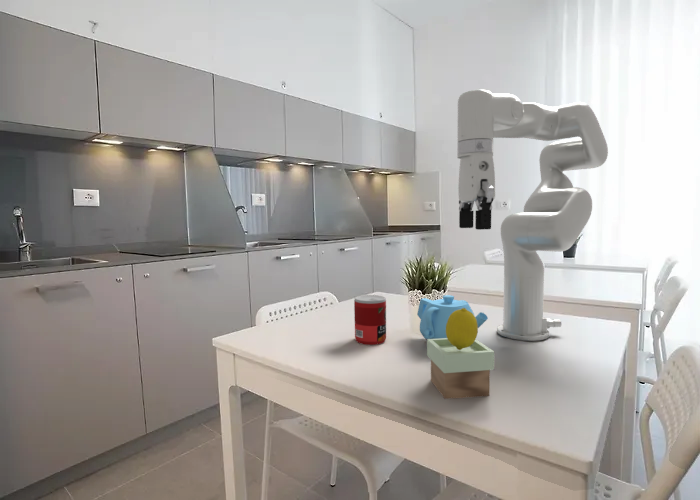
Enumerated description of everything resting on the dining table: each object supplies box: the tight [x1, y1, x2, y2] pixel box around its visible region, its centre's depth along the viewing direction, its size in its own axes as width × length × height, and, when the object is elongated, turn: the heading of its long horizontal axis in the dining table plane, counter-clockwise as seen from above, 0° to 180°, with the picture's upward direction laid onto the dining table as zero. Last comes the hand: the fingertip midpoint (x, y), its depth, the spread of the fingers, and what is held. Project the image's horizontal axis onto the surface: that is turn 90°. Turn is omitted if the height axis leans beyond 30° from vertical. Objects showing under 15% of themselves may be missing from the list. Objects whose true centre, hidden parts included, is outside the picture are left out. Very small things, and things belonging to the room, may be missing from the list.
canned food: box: [353, 294, 387, 346], centre depth 104 cm, size 8×8×11 cm
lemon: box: [446, 308, 479, 350], centre depth 74 cm, size 6×6×8 cm
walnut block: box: [430, 359, 491, 400], centre depth 75 cm, size 8×8×5 cm
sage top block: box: [426, 338, 495, 373], centre depth 75 cm, size 9×9×3 cm
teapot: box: [417, 294, 488, 340], centre depth 101 cm, size 20×17×12 cm
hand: (474, 228), depth 92 cm, fingers open, 9 cm apart
